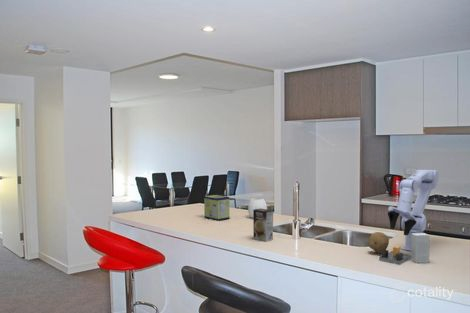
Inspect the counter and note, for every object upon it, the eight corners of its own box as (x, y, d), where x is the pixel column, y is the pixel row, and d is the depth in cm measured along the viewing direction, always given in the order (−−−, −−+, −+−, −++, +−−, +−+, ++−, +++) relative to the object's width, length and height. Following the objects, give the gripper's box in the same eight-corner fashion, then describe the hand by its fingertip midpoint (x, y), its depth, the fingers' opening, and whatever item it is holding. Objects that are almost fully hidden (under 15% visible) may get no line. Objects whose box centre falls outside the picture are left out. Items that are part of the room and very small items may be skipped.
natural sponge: (374, 256, 182) (374, 234, 182) (364, 251, 191) (364, 230, 191) (392, 255, 184) (392, 233, 184) (381, 250, 193) (381, 229, 193)
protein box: (215, 216, 289) (215, 194, 288) (230, 219, 277) (229, 196, 277) (203, 218, 282) (203, 196, 281) (218, 221, 270) (218, 198, 270)
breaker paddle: (395, 253, 180) (395, 246, 180) (400, 254, 179) (400, 246, 179) (392, 255, 178) (392, 247, 178) (397, 255, 177) (397, 248, 176)
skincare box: (424, 260, 176) (424, 232, 176) (429, 262, 172) (429, 235, 172) (410, 260, 176) (411, 233, 176) (415, 263, 172) (415, 235, 172)
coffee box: (252, 239, 218) (252, 209, 217) (260, 237, 223) (260, 208, 222) (266, 241, 212) (266, 211, 211) (273, 239, 216) (273, 209, 216)
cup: (249, 216, 288) (249, 197, 288) (267, 216, 286) (267, 197, 286) (247, 219, 275) (247, 199, 275) (266, 219, 273) (266, 200, 273)
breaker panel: (392, 254, 185) (392, 246, 185) (411, 258, 179) (412, 249, 179) (379, 260, 176) (379, 251, 176) (399, 264, 170) (399, 255, 170)
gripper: (398, 196, 180) (392, 224, 175) (424, 209, 183) (418, 237, 178) (387, 198, 186) (381, 225, 182) (412, 210, 189) (407, 238, 185)
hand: (399, 231), depth 180 cm, fingers open, 7 cm apart
